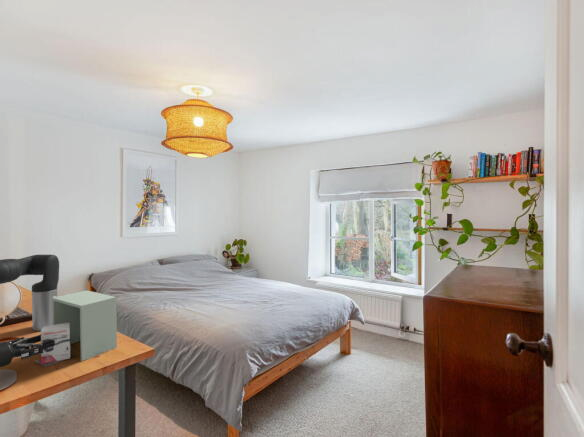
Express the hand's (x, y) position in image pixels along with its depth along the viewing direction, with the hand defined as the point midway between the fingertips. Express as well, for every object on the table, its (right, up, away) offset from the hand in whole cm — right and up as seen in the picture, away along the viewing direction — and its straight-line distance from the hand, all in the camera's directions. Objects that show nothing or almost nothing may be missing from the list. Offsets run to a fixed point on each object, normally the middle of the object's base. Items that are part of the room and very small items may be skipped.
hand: (48, 340), depth 115 cm
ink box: (+2, -8, +2) cm, 8 cm away
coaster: (0, -8, +1) cm, 8 cm away
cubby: (+6, -7, +11) cm, 15 cm away
